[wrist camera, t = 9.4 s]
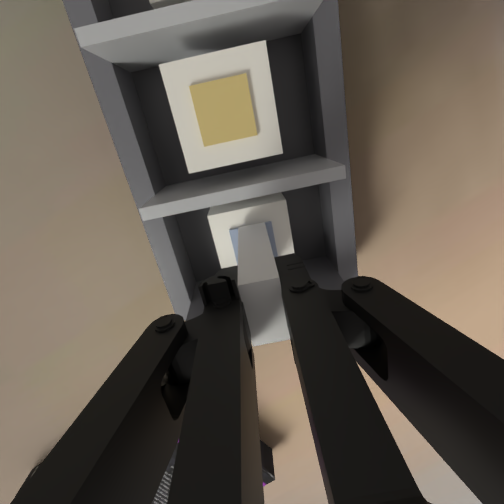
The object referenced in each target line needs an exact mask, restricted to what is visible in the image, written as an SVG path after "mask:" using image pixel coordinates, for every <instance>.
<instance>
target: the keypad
mask: <svg viewBox="0 0 504 504" xmlns="http://www.w3.org/2000/svg"><path fill="white" fill-rule="evenodd" d="M62 1H63V3H64V6H65V9H66V12H67V15H68V17H69V20H70V23H71V26H72V28H73V31H74V34H75V37H76V40H77V42H78V45H79V48H80V51H81V53H82V56H83V59H84V62H85V65H86V67H87V70H88V73H89V76H90V78H91V81H92V84H93V87H94V90H95V92H96V95H97V98H98V101H99V103H100V106H101V109H102V112H103V115H104V117H105V120H106V123H107V126H108V128H109V131H110V134H111V137H112V140H113V142H114V145H115V148H116V151H117V153H118V156H119V159H120V162H121V165H122V167H123V170H124V173H125V176H126V178H127V181H128V184H129V187H130V190H131V192H132V195H133V198H134V201H135V203H136V206H137V209H138V212H139V215H140V217H141V220H142V223H143V226H144V228H145V231H146V234H147V237H148V240H149V242H150V245H151V248H152V251H153V253H154V256H155V259H156V262H157V265H158V267H159V270H160V273H161V276H162V278H163V281H164V284H165V287H166V290H167V292H168V295H169V298H170V301H171V303H172V306H173V309H174V312H175V314H179V315H181V316H182V317H183V319H184V320H186V321H188V320H190V319H193V318H195V317H197V316H199V315H201V314H203V310H204V304H203V301H202V298H201V294H200V291H199V288H198V286H199V285H200V283H201V282H203V281H204V280H205V279H207V278H209V277H212V276H215V274H216V273H217V272H218V271H219V270H220V269H221V266H220V262H219V258H218V254H217V251H216V247H215V243H214V240H213V236H212V232H211V228H210V225H209V221H208V217H207V215H208V212H209V210H210V207H212V206H217V205H222V204H227V203H231V202H236V201H241V200H246V199H250V198H255V197H260V196H265V195H269V194H274V193H279V192H281V193H282V194H283V196H284V197H285V199H286V203H287V209H288V215H289V222H290V228H291V234H292V240H293V247H294V253H295V254H297V255H298V256H300V257H301V259H302V261H303V263H304V265H305V267H306V269H307V271H308V273H309V276H310V278H311V280H314V281H315V282H316V283H317V284H318V286H319V288H322V289H326V290H341V285H342V283H343V282H344V281H346V280H348V279H350V278H354V277H357V276H358V270H357V256H356V242H355V229H354V215H353V201H352V187H351V174H350V160H349V146H348V132H347V119H346V105H345V91H344V77H343V64H342V50H341V36H340V22H339V9H338V0H192V1H187V2H183V3H179V4H175V5H171V6H166V7H162V8H158V9H154V8H153V7H152V6H151V4H150V2H149V0H62ZM263 40H266V46H267V53H268V59H269V66H270V72H271V79H272V85H273V92H274V98H275V104H276V111H277V117H278V124H279V130H280V137H281V143H282V150H283V154H278V155H274V156H269V157H264V158H260V159H255V160H250V161H246V162H241V163H236V164H232V165H227V166H222V167H218V168H213V169H209V170H204V171H199V172H195V173H190V174H189V172H188V168H187V165H186V161H185V158H184V154H183V151H182V147H181V143H180V140H179V136H178V133H177V129H176V125H175V122H174V118H173V115H172V111H171V107H170V104H169V100H168V97H167V93H166V89H165V86H164V82H163V79H162V75H161V71H160V68H159V64H163V63H168V62H172V61H176V60H181V59H185V58H189V57H194V56H198V55H202V54H207V53H211V52H215V51H220V50H224V49H228V48H233V47H237V46H241V45H246V44H250V43H254V42H259V41H263Z"/></svg>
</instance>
